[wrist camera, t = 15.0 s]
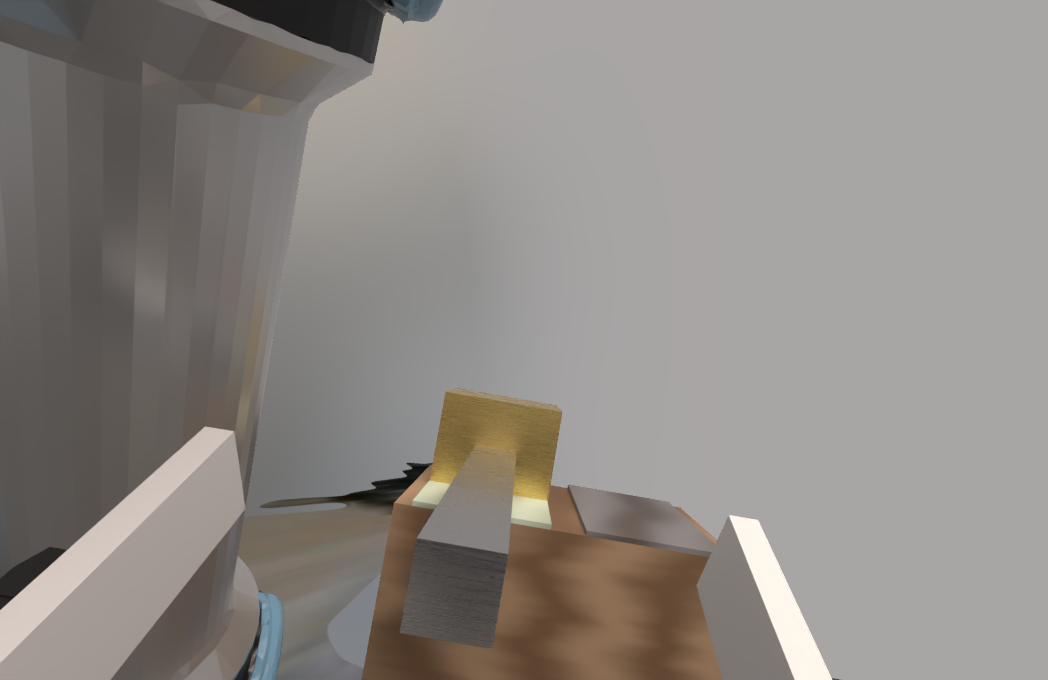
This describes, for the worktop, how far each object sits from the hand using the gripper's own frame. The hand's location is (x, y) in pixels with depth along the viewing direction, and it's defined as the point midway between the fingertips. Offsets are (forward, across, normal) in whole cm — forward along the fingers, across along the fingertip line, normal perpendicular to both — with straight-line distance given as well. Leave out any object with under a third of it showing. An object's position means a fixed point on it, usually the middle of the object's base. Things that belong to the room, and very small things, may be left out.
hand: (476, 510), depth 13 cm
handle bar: (+10, 0, -11) cm, 14 cm away
